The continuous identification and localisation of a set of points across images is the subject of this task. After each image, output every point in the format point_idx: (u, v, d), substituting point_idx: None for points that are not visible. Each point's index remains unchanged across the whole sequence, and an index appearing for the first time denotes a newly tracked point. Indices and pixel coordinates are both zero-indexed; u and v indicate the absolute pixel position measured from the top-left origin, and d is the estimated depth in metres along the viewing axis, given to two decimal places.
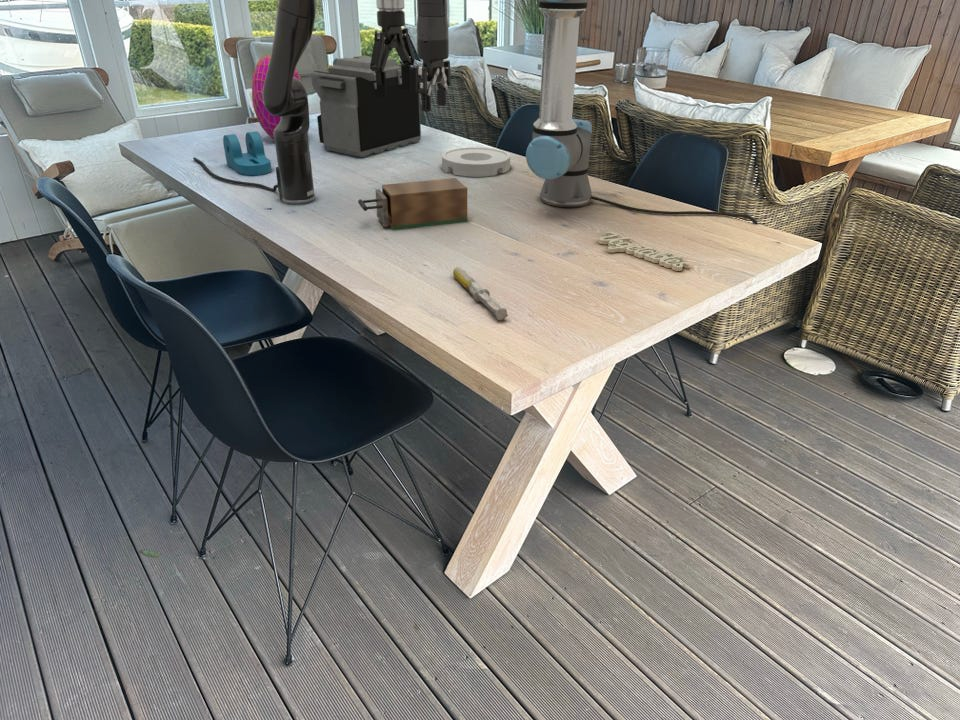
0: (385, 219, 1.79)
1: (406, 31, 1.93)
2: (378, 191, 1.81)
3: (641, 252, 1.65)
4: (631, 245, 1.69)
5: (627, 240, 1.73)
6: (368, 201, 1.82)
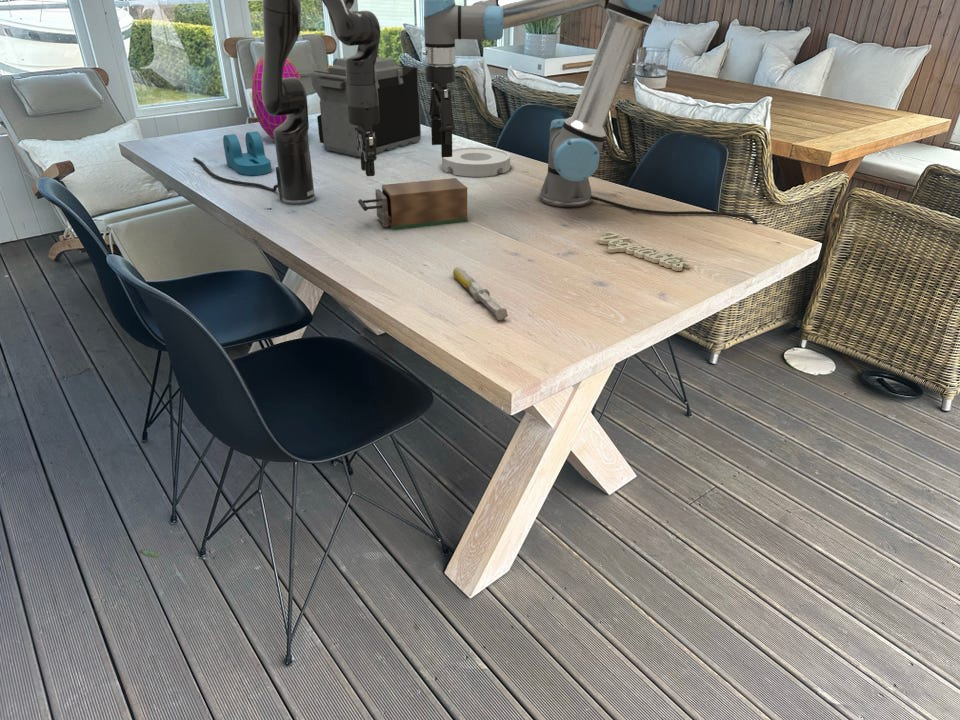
0: (385, 219, 1.79)
1: None
2: (378, 191, 1.81)
3: (641, 252, 1.65)
4: (631, 245, 1.69)
5: (627, 240, 1.73)
6: (368, 201, 1.82)
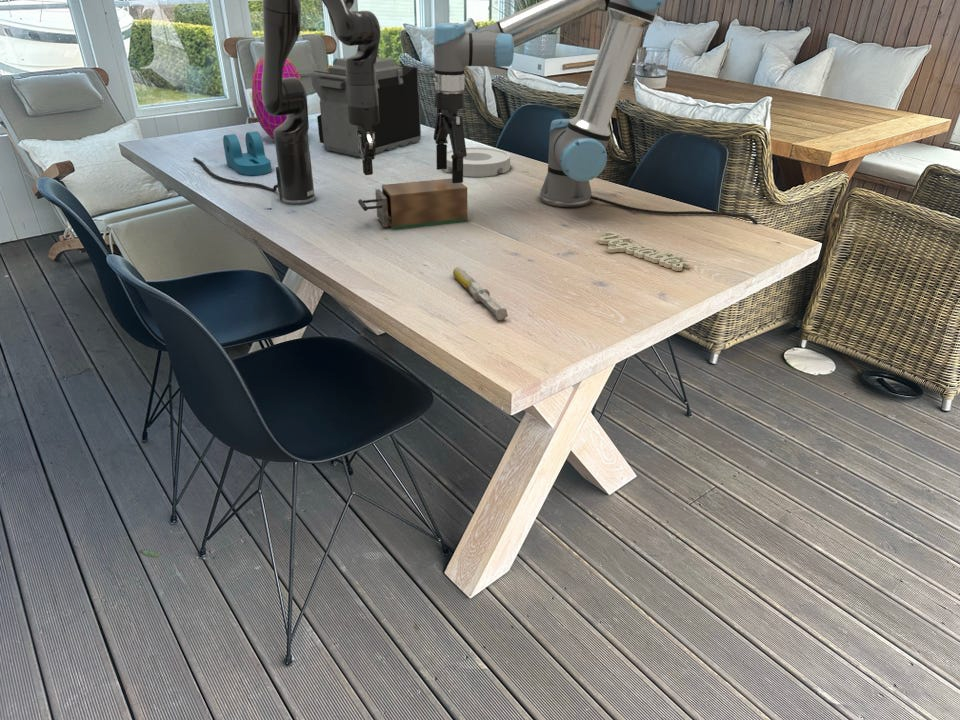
0: (385, 219, 1.79)
1: None
2: (378, 191, 1.81)
3: (641, 252, 1.65)
4: (631, 245, 1.69)
5: (627, 240, 1.73)
6: (368, 201, 1.82)
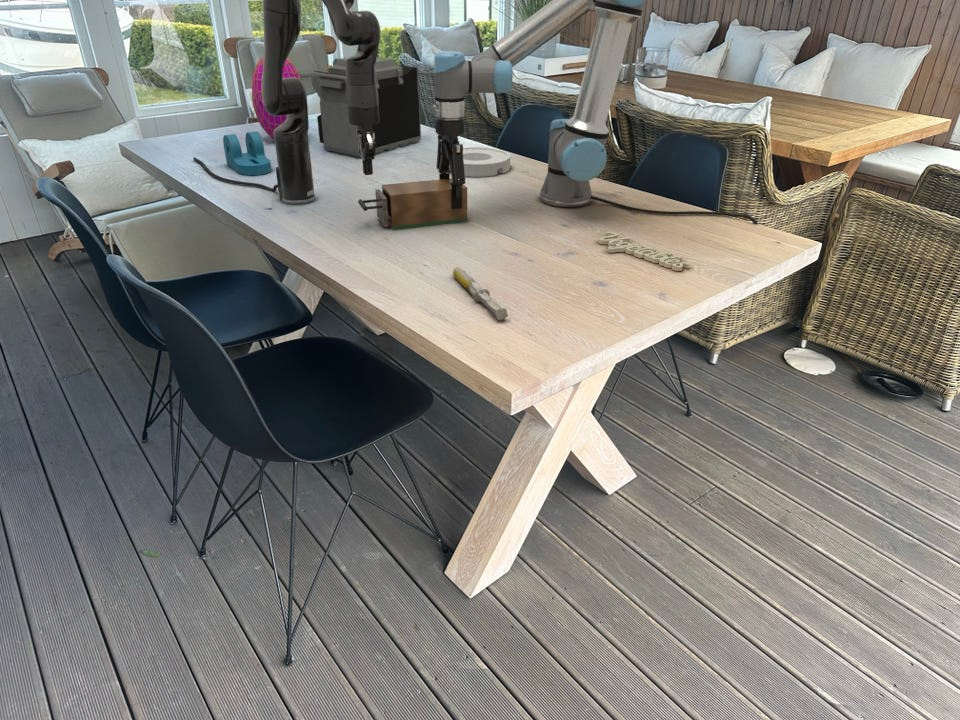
0: (385, 219, 1.79)
1: None
2: (378, 191, 1.81)
3: (641, 252, 1.65)
4: (631, 245, 1.69)
5: (627, 240, 1.73)
6: (368, 201, 1.82)
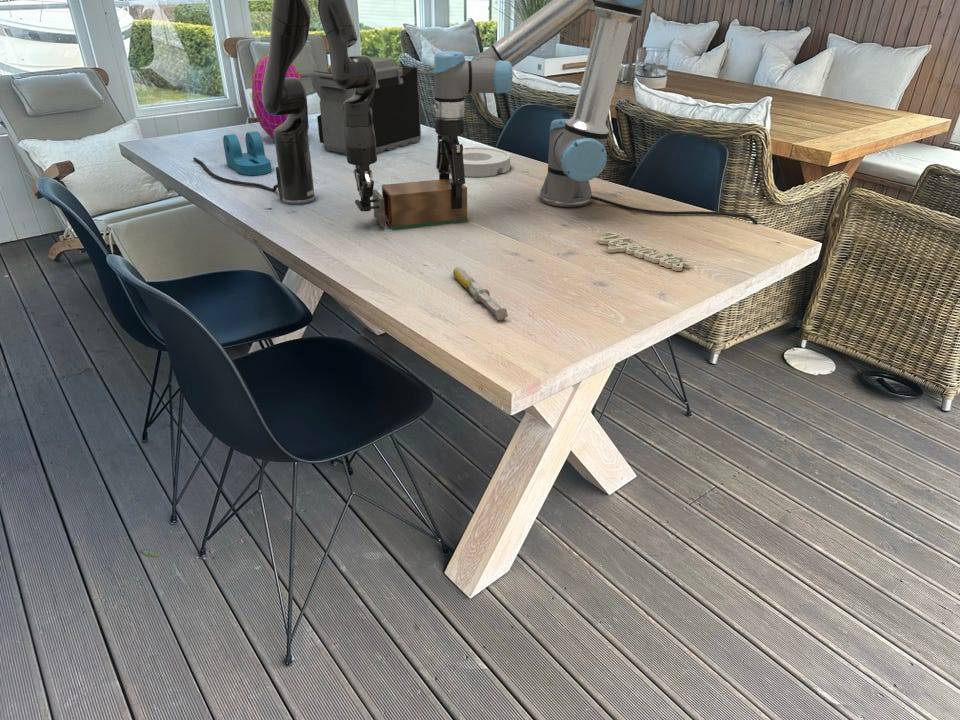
0: (382, 219, 1.78)
1: None
2: (375, 191, 1.81)
3: (641, 252, 1.65)
4: (631, 245, 1.69)
5: (627, 240, 1.73)
6: None
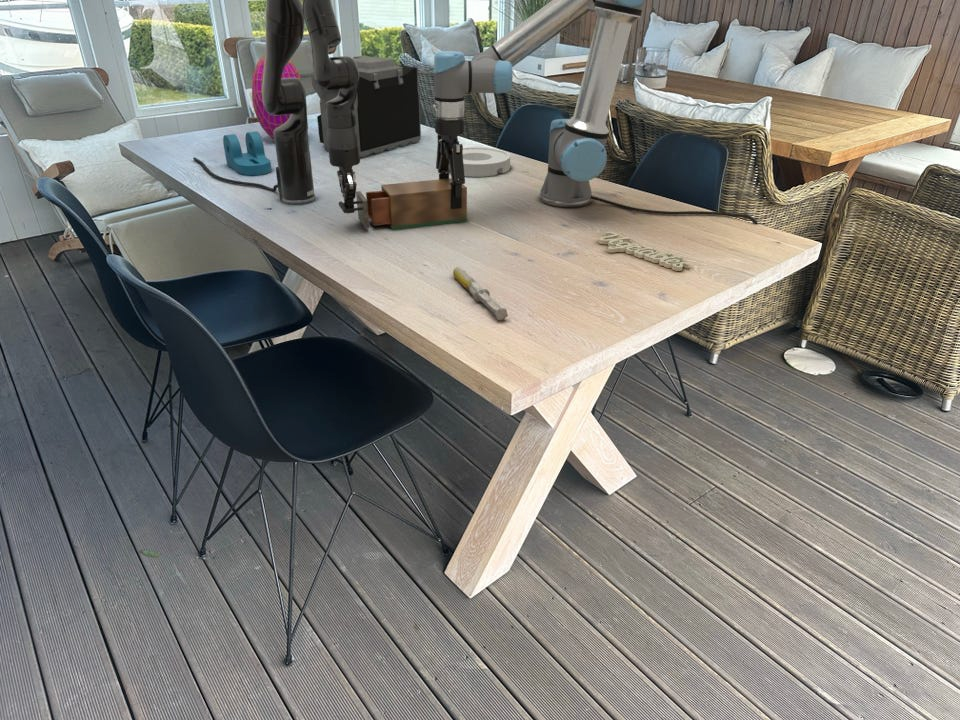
0: (365, 221, 1.77)
1: None
2: (359, 193, 1.79)
3: (641, 252, 1.65)
4: (631, 245, 1.69)
5: (627, 240, 1.73)
6: None
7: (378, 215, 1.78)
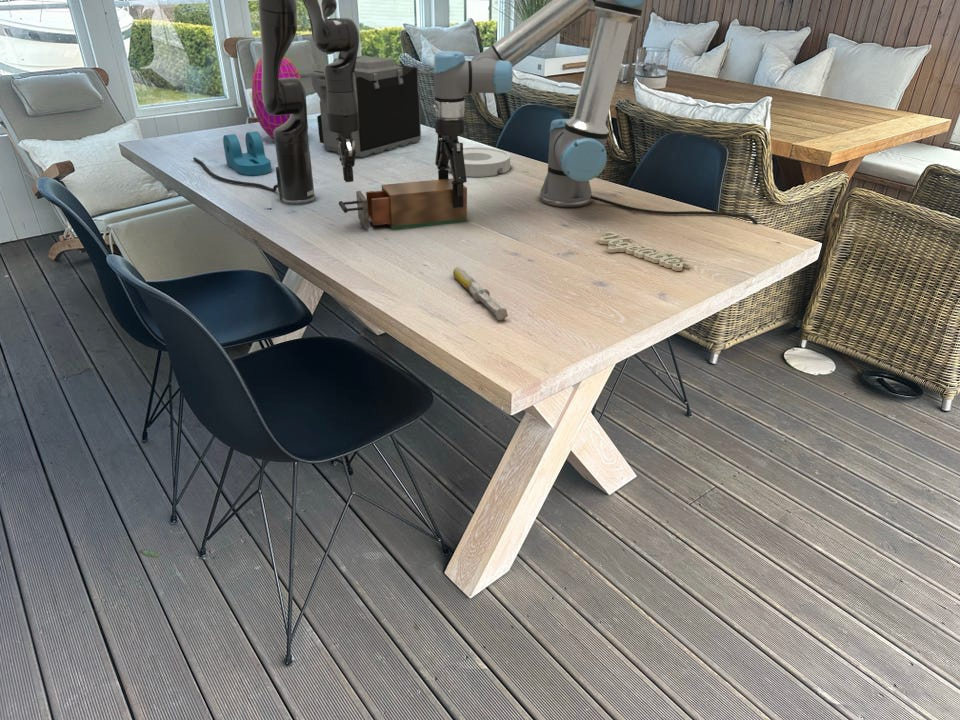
0: (365, 221, 1.77)
1: None
2: (359, 193, 1.79)
3: (641, 252, 1.65)
4: (631, 245, 1.69)
5: (627, 240, 1.73)
6: (349, 203, 1.80)
7: (378, 215, 1.78)
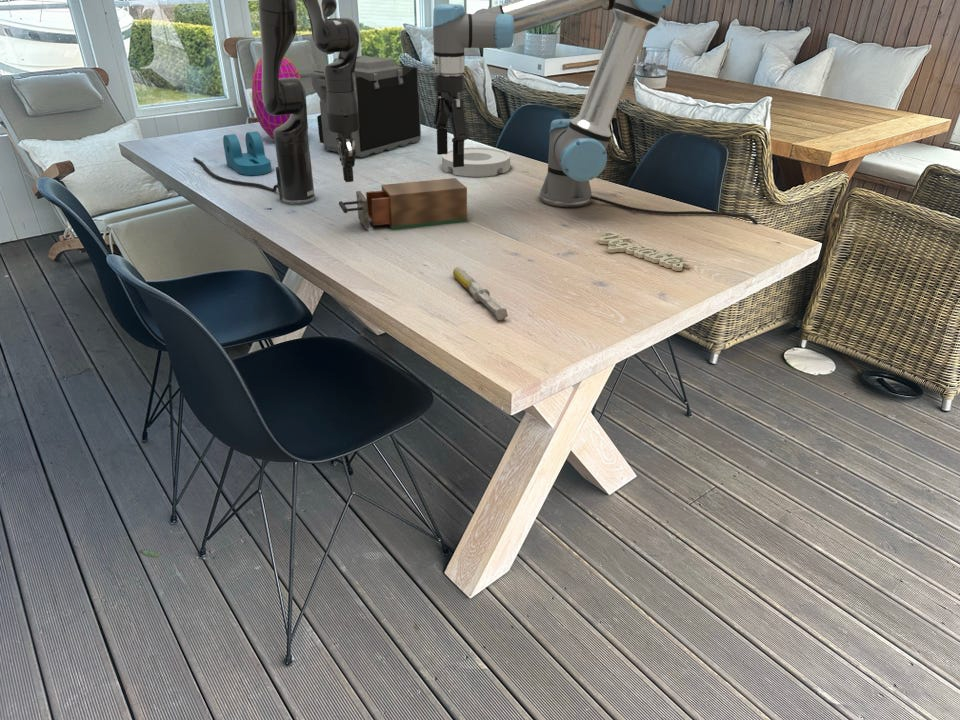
0: (365, 221, 1.77)
1: None
2: (359, 193, 1.79)
3: (641, 252, 1.65)
4: (631, 245, 1.69)
5: (627, 240, 1.73)
6: (349, 203, 1.80)
7: (378, 215, 1.78)
